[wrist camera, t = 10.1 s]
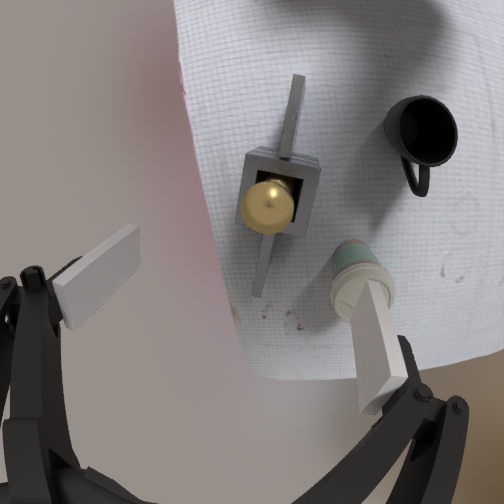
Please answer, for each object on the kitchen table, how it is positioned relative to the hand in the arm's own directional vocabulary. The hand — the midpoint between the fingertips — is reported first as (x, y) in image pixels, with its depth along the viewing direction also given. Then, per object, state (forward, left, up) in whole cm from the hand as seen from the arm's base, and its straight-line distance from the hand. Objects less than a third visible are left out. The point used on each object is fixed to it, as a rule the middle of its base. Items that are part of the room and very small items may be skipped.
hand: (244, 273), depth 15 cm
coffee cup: (+9, +13, -27) cm, 31 cm away
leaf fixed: (+5, 0, -26) cm, 27 cm away
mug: (-10, +15, -27) cm, 32 cm away
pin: (0, 0, -26) cm, 26 cm away
